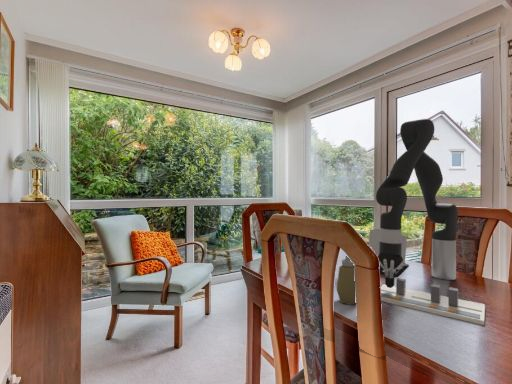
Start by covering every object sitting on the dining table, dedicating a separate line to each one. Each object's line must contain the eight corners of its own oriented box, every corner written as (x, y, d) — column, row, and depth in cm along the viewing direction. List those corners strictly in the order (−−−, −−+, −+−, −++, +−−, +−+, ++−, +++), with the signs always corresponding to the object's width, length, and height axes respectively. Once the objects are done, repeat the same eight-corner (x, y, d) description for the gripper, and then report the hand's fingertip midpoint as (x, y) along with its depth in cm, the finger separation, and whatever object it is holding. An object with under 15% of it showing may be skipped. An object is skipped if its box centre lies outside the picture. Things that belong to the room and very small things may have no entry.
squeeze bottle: (333, 297, 104) (333, 248, 104) (354, 297, 105) (355, 247, 104) (341, 306, 96) (342, 252, 96) (365, 305, 96) (365, 252, 96)
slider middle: (432, 298, 99) (432, 284, 99) (440, 300, 98) (440, 285, 98) (430, 300, 97) (431, 286, 97) (439, 302, 95) (439, 287, 95)
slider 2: (449, 301, 96) (449, 287, 96) (458, 303, 95) (458, 288, 95) (448, 304, 94) (448, 289, 94) (457, 306, 92) (457, 291, 92)
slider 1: (398, 291, 106) (398, 277, 106) (405, 292, 105) (405, 279, 105) (396, 293, 104) (396, 279, 104) (403, 295, 102) (403, 281, 102)
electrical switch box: (410, 273, 143) (414, 233, 145) (390, 272, 137) (394, 230, 138) (385, 266, 157) (389, 229, 158) (365, 265, 150) (370, 227, 151)
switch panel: (383, 287, 116) (383, 283, 116) (484, 307, 95) (485, 303, 95) (370, 298, 103) (370, 294, 103) (484, 325, 83) (484, 319, 83)
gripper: (412, 241, 105) (411, 288, 105) (375, 237, 114) (374, 280, 114) (407, 244, 99) (407, 294, 100) (368, 239, 108) (368, 285, 108)
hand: (389, 287), depth 107 cm, fingers closed
